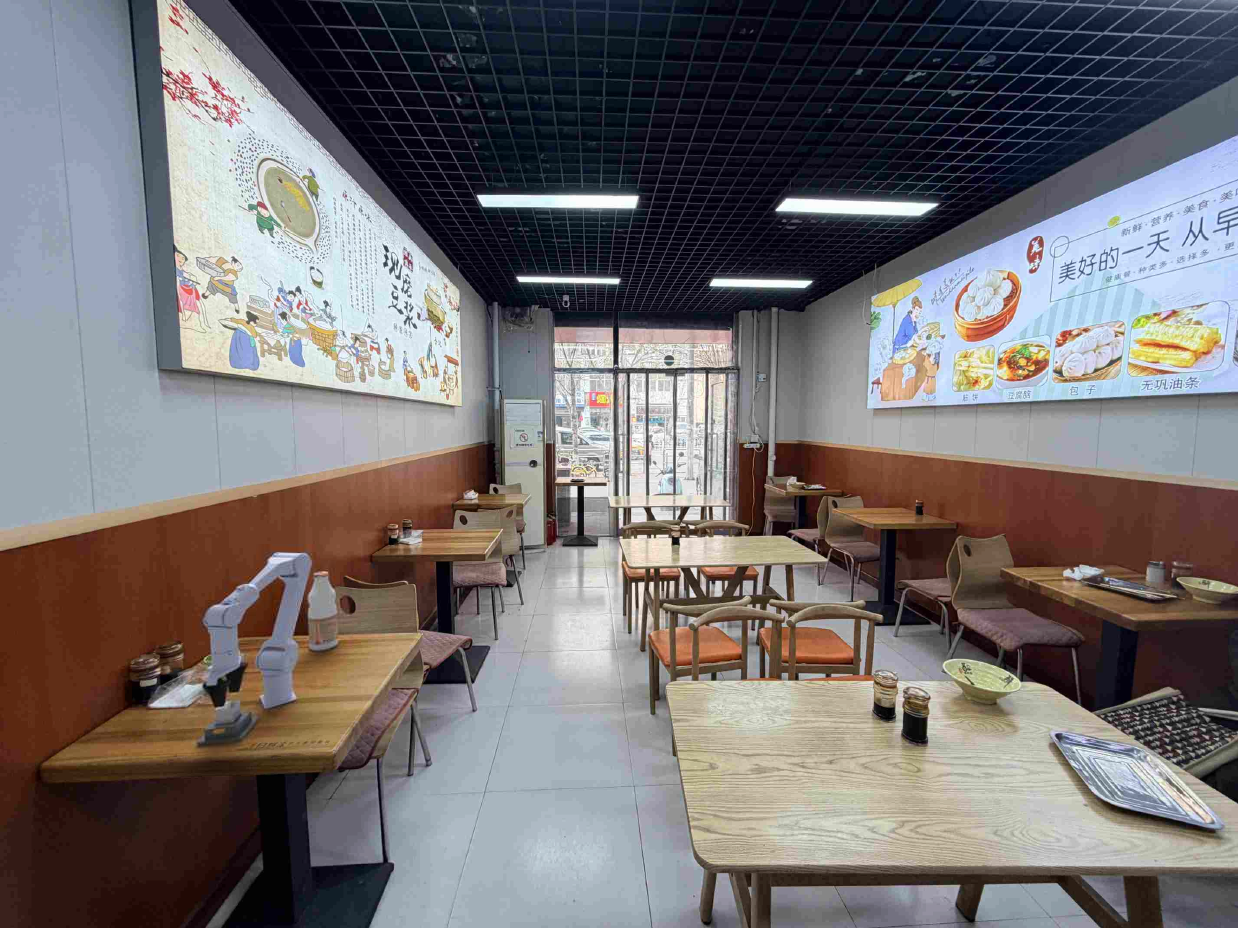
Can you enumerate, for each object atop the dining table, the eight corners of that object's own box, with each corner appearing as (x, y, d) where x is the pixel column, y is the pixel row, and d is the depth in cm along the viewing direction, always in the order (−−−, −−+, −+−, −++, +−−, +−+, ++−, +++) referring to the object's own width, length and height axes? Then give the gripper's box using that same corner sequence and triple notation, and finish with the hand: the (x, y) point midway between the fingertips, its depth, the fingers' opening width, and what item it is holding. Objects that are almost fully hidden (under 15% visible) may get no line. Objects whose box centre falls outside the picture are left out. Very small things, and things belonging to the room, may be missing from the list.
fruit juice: (303, 651, 189) (300, 576, 188) (319, 640, 199) (316, 569, 197) (329, 651, 189) (326, 576, 187) (343, 640, 199) (340, 569, 197)
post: (224, 724, 139) (223, 701, 139) (241, 722, 140) (240, 699, 140) (216, 733, 135) (214, 709, 135) (233, 731, 136) (232, 707, 136)
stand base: (218, 724, 142) (217, 712, 141) (258, 719, 144) (258, 707, 144) (196, 746, 132) (196, 732, 132) (241, 740, 134) (240, 727, 134)
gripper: (222, 640, 143) (224, 687, 143) (191, 662, 129) (194, 715, 129) (250, 637, 144) (253, 684, 145) (223, 659, 130) (226, 711, 131)
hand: (227, 698), depth 137 cm, fingers open, 7 cm apart
